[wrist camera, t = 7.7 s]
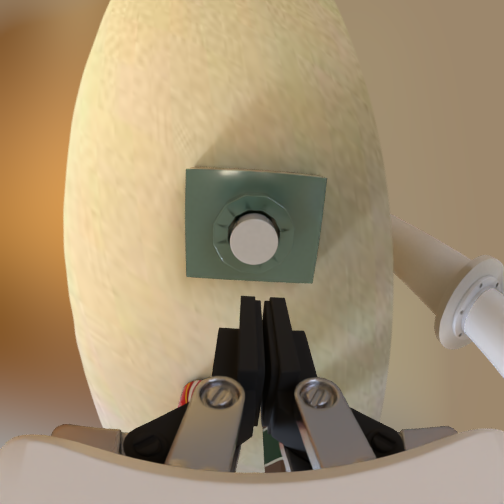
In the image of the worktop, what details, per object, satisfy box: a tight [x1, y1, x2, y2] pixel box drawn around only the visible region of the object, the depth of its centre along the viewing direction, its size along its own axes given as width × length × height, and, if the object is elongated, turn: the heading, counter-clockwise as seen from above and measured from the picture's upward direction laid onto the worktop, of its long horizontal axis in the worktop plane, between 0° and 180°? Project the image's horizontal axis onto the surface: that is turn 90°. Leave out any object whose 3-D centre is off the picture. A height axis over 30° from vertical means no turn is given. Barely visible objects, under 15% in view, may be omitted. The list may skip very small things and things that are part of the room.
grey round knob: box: [230, 213, 278, 265], centre depth 21 cm, size 4×4×2 cm
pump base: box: [185, 167, 327, 283], centre depth 24 cm, size 12×10×5 cm
